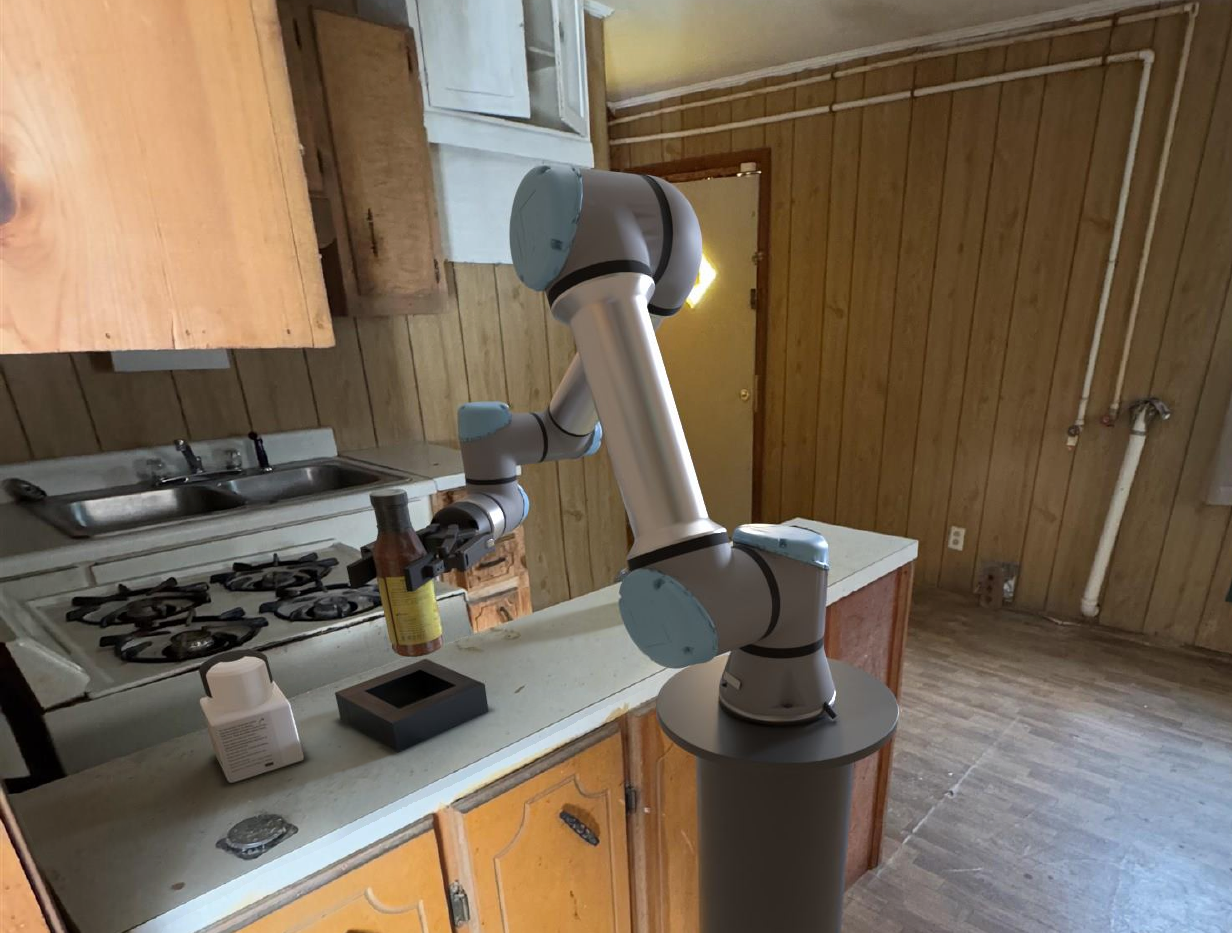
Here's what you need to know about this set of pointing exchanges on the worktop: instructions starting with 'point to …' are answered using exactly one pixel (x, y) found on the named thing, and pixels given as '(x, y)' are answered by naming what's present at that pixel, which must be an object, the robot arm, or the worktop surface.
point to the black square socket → (410, 725)
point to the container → (247, 715)
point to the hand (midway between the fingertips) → (379, 578)
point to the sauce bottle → (403, 578)
